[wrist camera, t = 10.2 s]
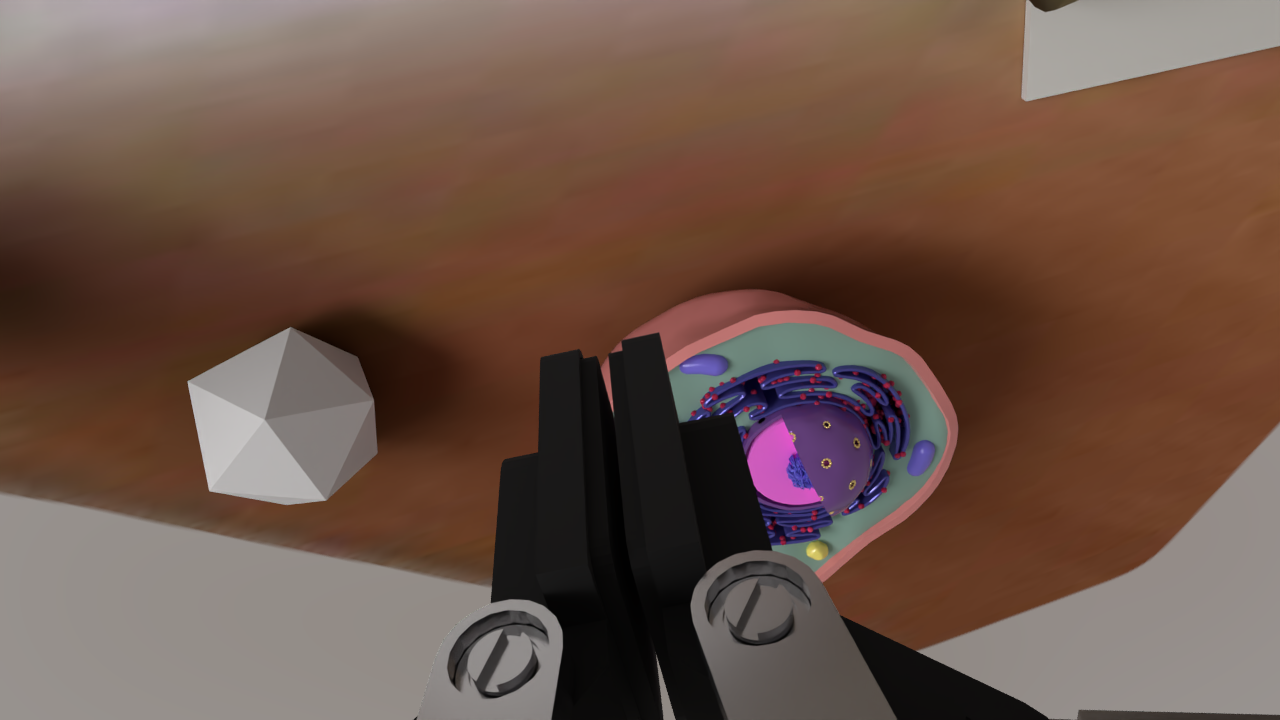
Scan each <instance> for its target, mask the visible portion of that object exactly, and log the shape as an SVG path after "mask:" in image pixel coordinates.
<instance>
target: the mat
mask: <svg viewBox="0 0 1280 720" xmlns="http://www.w3.org/2000/svg"><path fill="white" fill-rule="evenodd" d="M1277 46H1280V0H1078V1H1076V2H1073V3H1071V4H1069V5H1066V6H1064V7H1062V8H1059V9H1057V10H1053V11H1049V12H1044V11H1042V10H1040V9H1038V8H1036V7H1034V5H1033V4H1032V3H1031V2H1030V1H1029V0H1026V15H1025V36H1024V56H1023V76H1022V97H1021V98H1022V99H1024V100H1025V101H1030V100H1035V99H1039V98H1044V97H1049V96H1053V95H1058V94H1062V93H1067V92H1071V91H1076V90H1080V89H1085V88H1090V87H1094V86H1099V85H1103V84H1108V83H1112V82H1117V81H1122V80H1126V79H1131V78H1135V77H1140V76H1144V75H1149V74H1154V73H1158V72H1163V71H1167V70H1172V69H1176V68H1181V67H1185V66H1190V65H1195V64H1199V63H1204V62H1208V61H1213V60H1217V59H1222V58H1227V57H1231V56H1236V55H1240V54H1245V53H1249V52H1254V51H1259V50H1263V49H1268V48H1272V47H1277Z"/></svg>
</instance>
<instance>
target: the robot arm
mask: <svg viewBox="0 0 1280 720" xmlns="http://www.w3.org/2000/svg"><path fill="white" fill-rule="evenodd" d="M621 343H622V351H618V352H613V353H609V354H608V358H609V368H610V378H611V389H612V399H613V410H614V415H613V412H612V408H611V404H610V400H609V397H608V393H607V389H606V386H605V382H604V378H603V375H602V371H601V367H600V364H599V361H598V358H597V356H594V357H590V358H585V359H584V358H583V355H582V353H581V351H580V349H577V350H573V351H568V352H563V353H559V354H554V355H549V356H544V357H542V358H541V360H540V397H539V442H538V453H533V454H528V455H523V456H519V457H514V458H509V459H505V460H504V461H503V462H502V467H501V475H500V488H499V501H498V515H497V528H496V541H495V554H494V567H493V581H492V594H491V604H489V605H487V606H484V607H483V608H480V609H478V610H476V611H474V612H472V613H471V614H469V615H468V616H467V617H465V618H464V619H463V620H461V621H460V622H459V623H458V624H456V625H455V627H454V628H453V629H452V630H451V632H450V633H449V634H448V635H447V636H446V637H445V639H444V640H443V642H442V644H441V646H440V648H439V650H438V653H437V655H436V657H435V660H434V664H433V667H432V670H431V673H430V677H429V680H428V684H427V687H426V691H425V694H424V697H423V700H422V704H421V707H420V710H419V714H418V716H417V717H416V718H415V719H414V720H663V710H662V703H661V693H660V685H659V676H658V668H657V659H656V655H657V658H658V661H659V665H660V668H661V672H662V675H663V678H664V682H665V685H666V688H667V692H668V695H669V699H670V702H671V706H672V709H673V712H674V716H675V719H676V720H1068V719H1048V718H1047V717H1046V716H1044V715H1043V714H1041V713H1040V712H1038V711H1037V710H1035V709H1034V708H1032V707H1030V706H1029V705H1027V704H1026V703H1024V702H1021V701H1020V700H1018V699H1015V698H1013V697H1011V696H1009V695H1007V694H1005V693H1003V692H1001V691H999V690H996V689H994V688H992V687H990V686H988V685H986V684H984V683H982V682H980V681H978V680H975V679H973V678H971V677H969V676H967V675H965V674H963V673H961V672H959V671H956V670H954V669H952V668H950V667H948V666H946V665H944V664H942V663H939V662H938V661H935V660H933V659H931V658H929V657H927V656H925V655H923V654H920V653H919V652H917V651H914V650H912V649H910V648H908V647H906V646H904V645H902V644H900V643H898V642H895V641H893V640H891V639H889V638H887V637H885V636H883V635H881V634H879V633H876V632H874V631H872V630H870V629H868V628H866V627H864V626H862V625H860V624H858V623H855V622H853V621H851V620H849V619H847V618H845V617H843V616H841V615H839V613H838V611H837V609H836V607H835V606H834V604H833V602H832V600H831V598H830V596H829V595H828V593H827V591H826V589H825V587H824V586H823V584H822V582H821V580H820V579H819V578H818V577H817V575H816V574H815V573H814V572H813V570H812V569H811V568H810V567H809V566H808V565H806V564H805V563H803V562H801V561H800V560H798V559H797V558H795V557H793V556H790V555H787V554H783V553H780V552H777V551H773V550H772V546H771V543H770V539H769V536H768V532H767V529H766V525H765V522H764V518H763V515H762V511H761V508H760V504H759V501H758V497H757V494H756V490H755V487H754V483H753V480H752V476H751V473H750V469H749V466H748V462H747V458H746V455H745V451H744V448H743V444H742V441H741V437H740V434H739V430H738V427H737V423H736V420H735V417H734V414H733V412H730V413H726V414H721V415H716V416H711V417H706V418H701V419H697V420H692V421H687V422H682V423H679V419H678V414H677V410H676V405H675V401H674V396H673V392H672V387H671V382H670V378H669V373H668V369H667V364H666V360H665V355H664V350H663V346H662V341H661V337H660V333H659V332H658V333H653V334H648V335H643V336H639V337H634V338H629V339H625V340H622V341H621ZM1077 720H1280V715H1262V714H1261V715H1260V714H1221V713H1183V712H1144V711H1142V712H1141V711H1105V710H1079V711H1078V717H1077Z"/></svg>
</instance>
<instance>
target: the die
mask: <svg viewBox="0 0 1280 720" xmlns="http://www.w3.org/2000/svg"><path fill="white" fill-rule="evenodd" d="M187 382H188V387H189V392H190V397H191V402H192V407H193V412H194V417H195V422H196V427H197V432H198V437H199V442H200V447H201V452H202V457H203V462H204V467H205V472H206V476H207V481H208V486H209V491H212V492H217V493H223V494H228V495H234V496H240V497H245V498H251V499H257V500H262V501H268V502H274V503H279V504H285V505H289V504H298V503H308V502H317V501H326V500H327V499H328V498H329V497H330V496H332V495H333V494H334V493H335V492H336V491H337V490H338V489H339V488H340V487H341V486H342V485H344V484H345V483H346V482H347V481H348V480H349V479H350V478H351V477H352V476H353V475H354V474H355V473H357V472H358V471H359V470H360V469H361V468H362V467H363V466H364V465H365V464H366V463H367V462H369V461H370V460H371V459H372V458H373V457H374V456H375V455H376V454H377V438H376V423H375V408H374V399H373V396H372V393H371V391H370V388H369V386H368V383H367V380H366V378H365V375H364V372H363V370H362V367H361V364H360V362H359V359H358V357H357V356H354V355H352V354H350V353H348V352H345V351H343V350H341V349H339V348H336V347H334V346H332V345H330V344H328V343H325V342H323V341H321V340H319V339H316V338H314V337H312V336H310V335H307V334H305V333H303V332H301V331H299V330H296V329H294V328H292V327H290V328H288V329H286V330H284V331H282V332H280V333H278V334H276V335H274V336H272V337H270V338H269V339H267V340H265V341H263V342H261V343H259V344H257V345H255V346H253V347H251V348H249V349H247V350H246V351H244V352H242V353H240V354H238V355H236V356H234V357H232V358H231V359H229V360H227V361H225V362H223V363H221V364H219V365H217V366H215V367H214V368H212V369H210V370H208V371H206V372H204V373H202V374H200V375H199V376H197V377H195V378H193V379H191V380H189V381H187Z"/></svg>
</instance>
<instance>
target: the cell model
mask: <svg viewBox="0 0 1280 720" xmlns="http://www.w3.org/2000/svg"><path fill="white" fill-rule="evenodd" d="M658 332H659V333H660V337H661V341H662V346H663V350H664V355H665V360H666V364H667V369H668V373H669V378H670V382H671V387H672V392H673V396H674V401H675V405H676V410H677V414H678V419H679V423H682V422H687V421H692V420H697V419H701V418H706V417H711V416H716V415H721V414H726V413H730V412H733V414H734V417H735V420H736V423H737V427H738V430H739V434H740V437H741V441H742V444H743V448H744V451H745V455H746V458H747V462H748V466H749V469H750V473H751V476H752V480H753V483H754V487H755V490H756V494H757V497H758V501H759V504H760V508H761V511H762V515H763V518H764V522H765V525H766V529H767V532H768V536H769V539H770V543H771V546H772V550H773V551H777V552H780V553H783V554H787V555H790V556H793V557H795V558H797V559H798V560H800V561H801V562H803V563H805V564H806V565H808V566H809V567H810V568H811V569H812V570H813V572H814V573H815V574H816V575H817V577H818V578H819V579H820V580H821V582H824V581H825V580H827V579H828V578H829V577H830V576H831V575H832V574H833V573H834V572H836V571H837V570H838V569H839V568H840V567H841V566H843V565H844V564H845V563H846V562H847V561H848V560H850V559H851V558H852V557H853V556H854V555H855V554H857V553H858V552H859V551H860V550H861V549H862V548H864V547H865V546H866V545H867V544H869V543H870V542H871V541H873V540H874V539H876V538H877V537H879V536H881V535H882V534H884V533H885V532H887V531H888V530H890V529H892V528H893V527H895V526H896V525H898V524H900V523H901V522H903V521H904V520H905V519H906V518H908V517H909V516H910V515H911V514H912V513H914V512H915V511H916V510H917V509H918V508H919V507H920V506H921V505H922V504H923V503H924V502H925V501H926V500H927V499H928V498H929V496H930V495H931V494H932V493H933V491H934V490H935V489H936V487H937V486H938V485H939V483H940V482H941V480H942V478H943V476H944V474H945V473H946V471H947V469H948V467H949V464H950V462H951V459H952V456H953V453H954V450H955V447H956V444H957V436H958V422H957V416H956V413H955V411H954V408H953V406H952V404H951V402H950V400H949V398H948V397H947V395H946V393H945V391H944V390H943V388H942V386H941V384H940V383H939V382H938V380H937V379H936V377H935V376H934V374H933V373H932V372H931V370H930V369H929V367H928V366H927V364H926V363H925V361H924V360H923V359H922V358H921V357H920V356H919V355H918V354H917V353H916V352H915V351H914V350H913V349H911V348H910V347H909V346H907V345H905V344H903V343H901V342H899V341H897V340H894V339H891V338H889V337H886V336H883V335H881V334H878V333H876V332H875V331H873V330H871V329H870V328H868V327H867V326H865V325H863V324H862V323H860V322H858V321H856V320H853V319H851V318H849V317H847V316H845V315H843V314H841V313H838V312H835V311H832V310H829V309H826V308H823V307H820V306H817V305H814V304H811V303H808V302H805V301H802V300H800V299H797V298H795V297H792V296H789V295H787V294H783V293H779V292H775V291H771V290H762V289H742V290H730V291H722V292H716V293H709V294H705V295H702V296H698V297H694V298H692V299H690V300H688V301H685V302H683V303H681V304H678V305H676V306H674V307H673V308H671V309H669V310H667V311H665V312H664V313H662V314H660V315H658V316H656V317H655V318H653V319H651V320H649V321H648V322H646V323H644V324H642V325H640V326H639V327H638V328H636V329H635V330H633V331H632V332H630V333H629V334H628V335H627V336H626V337H624V338H623V339H622V340H625V339H629V338H634V337H639V336H643V335H648V334H653V333H658ZM622 340H621V341H622ZM621 341H620V342H619V343H618V344H617V345H616V346H615V347H614V348H613V350H612V351H611V352H610V353H613V352H618V351H622V343H621ZM601 371H602V375H603V378H604V382H605V386H606V389H607V393H608V397H609V400H610V404H611V408H612V412H613V415H614V410H613V399H612V389H611V378H610V368H609V358H608V357H607V358H606V359H605V361H604V362H603V364H602V365H601Z"/></svg>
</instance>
